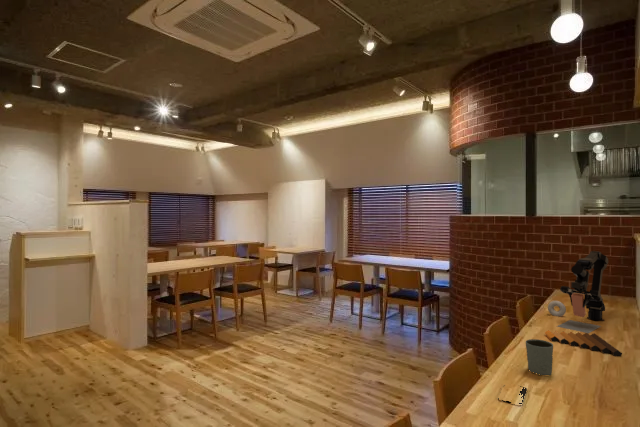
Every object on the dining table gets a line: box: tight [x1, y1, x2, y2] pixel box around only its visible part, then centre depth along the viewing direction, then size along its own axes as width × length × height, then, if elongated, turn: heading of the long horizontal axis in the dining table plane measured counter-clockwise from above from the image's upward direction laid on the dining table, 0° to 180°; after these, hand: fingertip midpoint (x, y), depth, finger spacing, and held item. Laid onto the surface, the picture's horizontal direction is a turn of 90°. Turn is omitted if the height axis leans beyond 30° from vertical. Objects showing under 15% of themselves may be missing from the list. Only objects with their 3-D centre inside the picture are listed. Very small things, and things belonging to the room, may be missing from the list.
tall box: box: [571, 293, 587, 318], centre depth 219 cm, size 3×5×12 cm, turn 37°
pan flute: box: [544, 330, 623, 357], centre depth 193 cm, size 25×3×25 cm
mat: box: [556, 319, 602, 334], centre depth 221 cm, size 20×16×1 cm
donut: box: [547, 300, 567, 317], centre depth 243 cm, size 10×4×10 cm, turn 45°
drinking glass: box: [525, 338, 554, 376], centre depth 162 cm, size 10×10×12 cm
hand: (577, 306), depth 218 cm, fingers closed on tall box, 5 cm apart
